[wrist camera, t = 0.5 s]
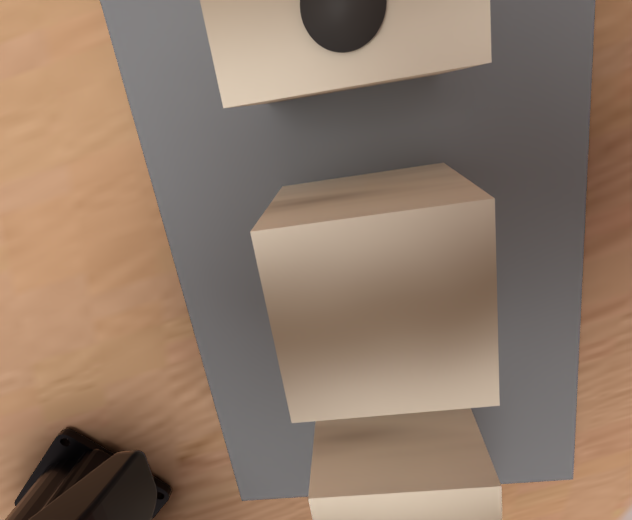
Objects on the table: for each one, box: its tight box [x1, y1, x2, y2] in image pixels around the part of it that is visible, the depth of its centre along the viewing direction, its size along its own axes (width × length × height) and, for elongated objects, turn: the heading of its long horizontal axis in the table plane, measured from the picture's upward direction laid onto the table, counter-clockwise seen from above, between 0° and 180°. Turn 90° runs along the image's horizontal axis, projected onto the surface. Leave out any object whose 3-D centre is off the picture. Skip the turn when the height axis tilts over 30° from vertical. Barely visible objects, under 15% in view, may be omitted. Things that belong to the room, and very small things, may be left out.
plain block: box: [250, 163, 500, 423], centre depth 15 cm, size 6×6×6 cm
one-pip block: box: [308, 408, 502, 520], centre depth 18 cm, size 6×6×6 cm
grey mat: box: [100, 0, 595, 501], centre depth 18 cm, size 25×16×1 cm, turn 9°
